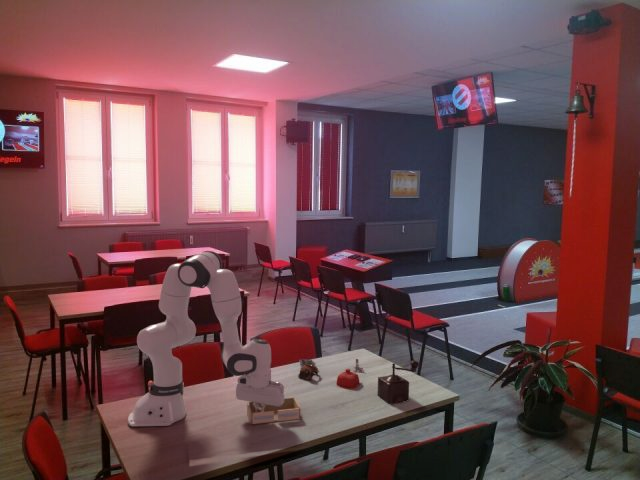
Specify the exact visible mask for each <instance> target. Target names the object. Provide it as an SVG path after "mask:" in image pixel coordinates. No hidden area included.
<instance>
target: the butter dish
mask: <svg viewBox="0 0 640 480" xmlns="http://www.w3.org/2000/svg"><path fill="white" fill-rule="evenodd" d="M335 383H336V385H332V386H334V387H337V388H341V389H345V390H349V391H353V390H355V389H357V388H358V387H360V385H362V384H363V382H360V377H359V374H358V373H357V372H354V371H351V369H350V368H346V369H344V371H342V372H341V373H339V374H338V375H337V378H336V382H335Z"/></svg>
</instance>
